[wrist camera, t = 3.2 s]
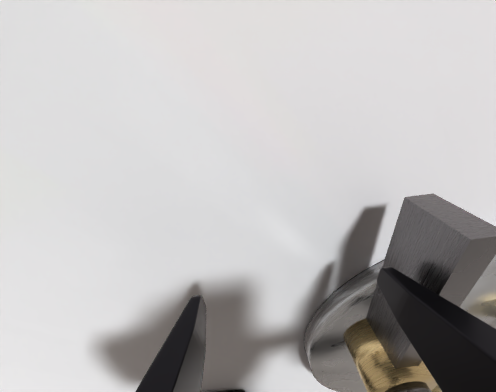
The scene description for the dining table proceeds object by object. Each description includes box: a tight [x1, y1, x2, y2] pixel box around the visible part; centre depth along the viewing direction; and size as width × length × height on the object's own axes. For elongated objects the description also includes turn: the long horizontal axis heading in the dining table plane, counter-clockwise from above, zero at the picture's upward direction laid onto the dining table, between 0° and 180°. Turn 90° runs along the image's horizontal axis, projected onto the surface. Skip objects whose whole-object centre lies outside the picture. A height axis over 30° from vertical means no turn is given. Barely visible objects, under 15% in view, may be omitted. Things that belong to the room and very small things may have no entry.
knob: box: [343, 194, 496, 392], centre depth 10 cm, size 12×4×4 cm, turn 6°
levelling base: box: [304, 255, 496, 392], centre depth 15 cm, size 24×19×5 cm
